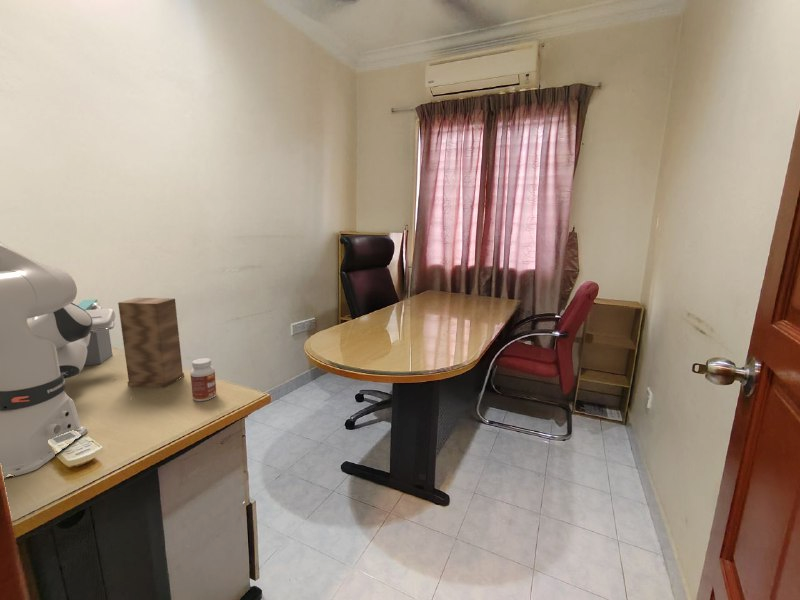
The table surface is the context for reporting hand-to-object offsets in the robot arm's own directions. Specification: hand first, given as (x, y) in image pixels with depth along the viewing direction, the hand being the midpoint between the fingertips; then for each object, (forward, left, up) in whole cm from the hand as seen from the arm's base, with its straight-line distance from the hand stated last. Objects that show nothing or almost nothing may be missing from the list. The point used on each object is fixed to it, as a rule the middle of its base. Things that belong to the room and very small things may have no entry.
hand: (78, 305), depth 125 cm
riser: (+6, +1, -22) cm, 23 cm away
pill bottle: (-35, -44, -22) cm, 60 cm away
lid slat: (+6, +2, -3) cm, 7 cm away
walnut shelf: (-19, -27, -22) cm, 39 cm away
